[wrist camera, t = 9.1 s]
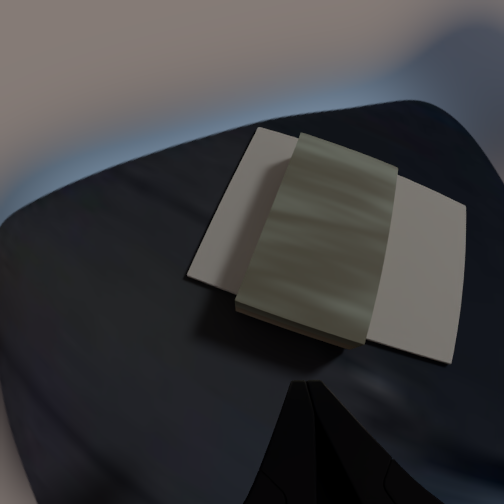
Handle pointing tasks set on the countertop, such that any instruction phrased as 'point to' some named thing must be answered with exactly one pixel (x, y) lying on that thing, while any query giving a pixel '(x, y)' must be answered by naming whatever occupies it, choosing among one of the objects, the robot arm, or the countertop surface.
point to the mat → (396, 257)
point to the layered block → (322, 245)
